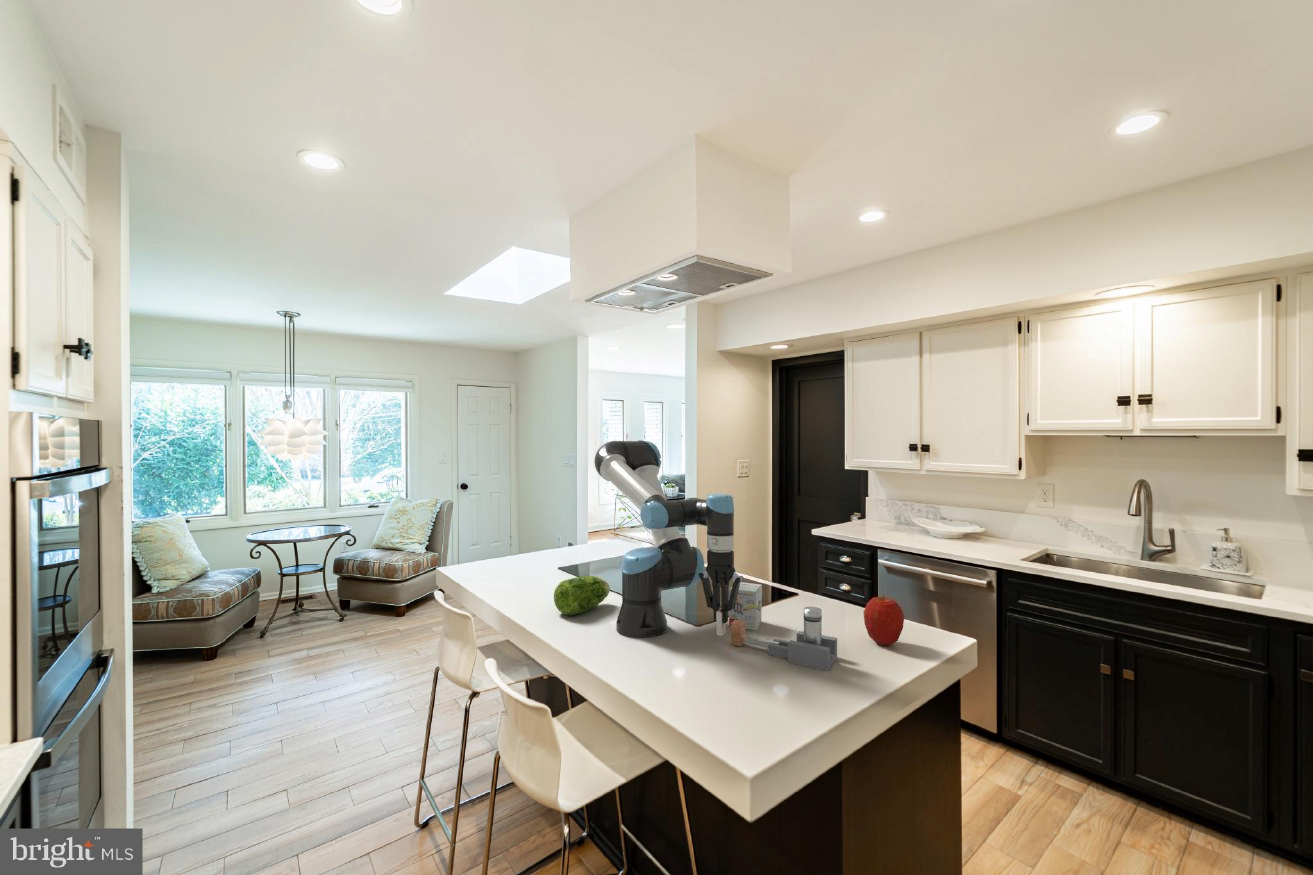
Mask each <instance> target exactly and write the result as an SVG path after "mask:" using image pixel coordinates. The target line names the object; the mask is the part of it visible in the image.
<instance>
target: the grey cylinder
mask: <svg viewBox="0 0 1313 875" xmlns="http://www.w3.org/2000/svg"><path fill="white" fill-rule="evenodd" d="M822 612H823V611H822V609H821V608H820V607H817V606H805V607H803V632H804V643H808V644H813V645H819V646H821V645H822V635H823V633H822V630H823V629H822V625H823V624H822V620H823V619H822V618H823V615H822Z"/></svg>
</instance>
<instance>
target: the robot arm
mask: <svg viewBox="0 0 1313 875" xmlns="http://www.w3.org/2000/svg"><path fill="white" fill-rule="evenodd" d="M661 458H662V456H661V452H660V450H659V447H658V446H657V445H656V444H654V443H653V442H651V441H649V440H642V439H641V440H612V441H607V442H606V443H603V444H602V445H600V447H599V448H598V449H597V451H596V453H595V455H594V468H595V470H596V472H597V473H598V475H599V476H600V478H602V479H603V480H605V481H607V482H611V483H612V485H614V487H615V488H617V489H618V490H619V492H621V493H622V495H624V496H625V497H626V499H628V500H629V501H630V502H631V503H632V505H634V506H635V507H636V508H637V509H638V510H639V512H640V514H639V516H640V521H641V522H642V526H643V527H644V528H646V529H648V530H650V532H651V535H652V538H653V540H654V543H655V545H656V546H655V547H654V546H647V547H638V548H637V547H636V548H634V549H631V550H630V551H627V552H626V553H624V555H623V557H622V562H621V575H622V576H621V584H622V586H621V589H622V590H621V592H622V593H621V598H622V599H621V602H622V603H621V606H620V610H619V612H618V615H617V619H616V622H615V623H616V624H615V625H616V626H615V628H616V629H615V630H616V632H617V633H619V634H620V635H623V636H625V637H632V638H650V637H656V636H660V635H663V634H664V633H666V632H667V630H668V619H667V617H666V613H665V610H664V607H663V604H662V592H663V591H667V590H668V591H669V590H675V589H679V588H687V587H690V586H693V585H696V584H698V583H700V582H701V583H702V588H703V592H704V598H705V602H706V607H707V608H709V609H712V611H713V622H715V623H716V624H715V625H716V629H715V630H716V636H721V637H722V636H723V635H725V634H726V624H727V623H729V611H731V610H732V609H734V608H735V604H736V599H737V595H738V590H739V586H740V583H741V582H743V580H744V576H743V575H739V574H737V572H736V571H737V570H736V569H735V551H734V550H733V549H735V537H734V534H735V533H734V532H735V525H734V524H735V523H734V522H735V520H734V519H735V506H734V504H735V503H734V497H733V496H732V494H731V495H730V494H727V493H725V494H723V493H710V494H708V495H707V497H706V499H703V498H699V497H687V498H684V499H679V500H677V499H676V500H667V497H666V495H665V493H664V489H663V488H662V485H661V482H660V480H659V477H658V475H659V473H660V468H661V465H662V460H661ZM698 525H700V526H704V527H706V548H707V549H708V550H707V551H706V563H707V565H706V567H705V559H704V555H703V552H702V551H701V550H700V549H699V548H698V547H697V546H691V543H690V542H689V539H688V538H687V537H685V536H683V535H682V534H681V532H680V529H679V527H686V526H688V527H689V526H698ZM710 579H711V581H710ZM731 580H732V582H733V583H732V585H731V586H732V589H731V594H730V598H729V592H730V581H731Z"/></svg>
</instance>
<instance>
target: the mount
mask: <svg viewBox="0 0 1313 875" xmlns="http://www.w3.org/2000/svg"><path fill="white" fill-rule="evenodd" d="M772 641H777V642H780V645H776V644H771V643H770V644H768V648H767V651H768V652H767V655H768V656H773V657H778V658H781V659H782V658H783V659H787V663H788V664H793V665H797V666H798V665H799V666H802V667H805V668H806V667H808V668H812V669H817V670H821V671H826V672H828V671H829V670H830V669H831V667H832V666H833V664H834V663H835V661H836V660H837V658H838V637H834V636H830V635H823V634H822V645H821V646H819V645H813V644H808V643H804V631H801V630H800V631H797V633H796V640H785V639H777V638H773V640H772Z"/></svg>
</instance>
